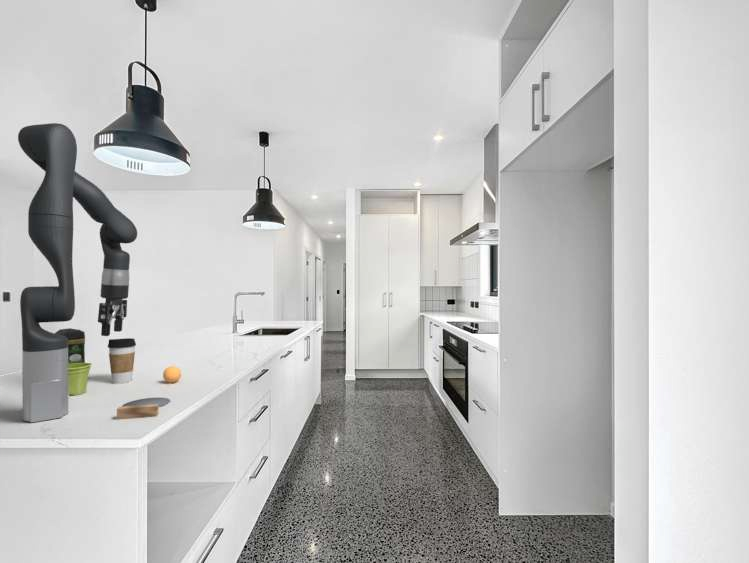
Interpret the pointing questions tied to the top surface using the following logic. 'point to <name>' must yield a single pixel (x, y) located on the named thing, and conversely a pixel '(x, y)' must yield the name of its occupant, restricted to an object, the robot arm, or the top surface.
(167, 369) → the ball
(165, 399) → the disc
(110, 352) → the coffee cup
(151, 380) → the top surface
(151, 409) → the block
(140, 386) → the top surface
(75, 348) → the coffee jar
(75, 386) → the plant pot
